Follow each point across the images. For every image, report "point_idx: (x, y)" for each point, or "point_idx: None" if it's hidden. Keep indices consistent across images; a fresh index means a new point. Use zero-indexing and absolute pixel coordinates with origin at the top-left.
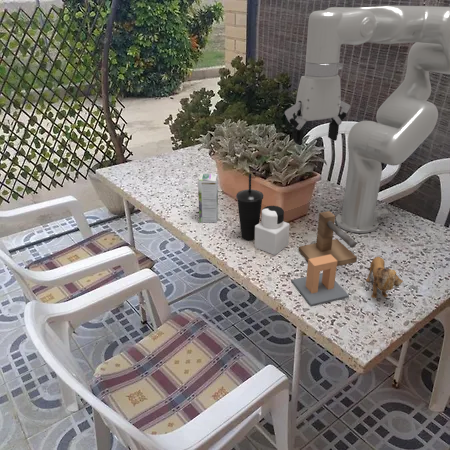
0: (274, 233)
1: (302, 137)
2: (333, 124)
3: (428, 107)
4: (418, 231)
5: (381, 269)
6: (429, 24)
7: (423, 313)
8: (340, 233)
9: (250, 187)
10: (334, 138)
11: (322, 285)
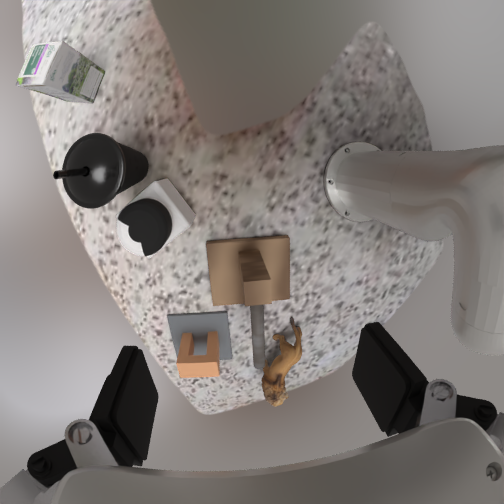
0: (146, 256)
1: (151, 426)
2: (396, 415)
3: None
4: (420, 240)
5: (273, 389)
6: None
7: (297, 386)
8: (254, 340)
9: (79, 175)
10: (356, 383)
11: (206, 337)
